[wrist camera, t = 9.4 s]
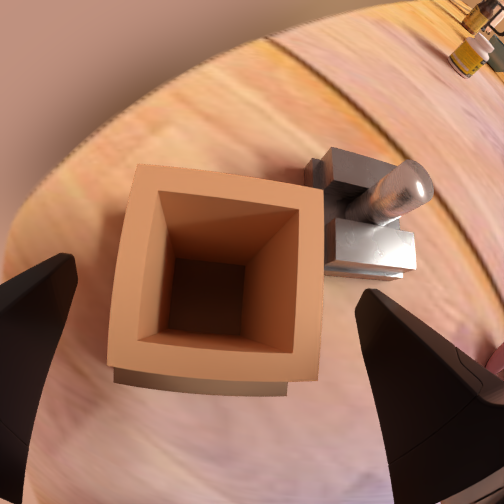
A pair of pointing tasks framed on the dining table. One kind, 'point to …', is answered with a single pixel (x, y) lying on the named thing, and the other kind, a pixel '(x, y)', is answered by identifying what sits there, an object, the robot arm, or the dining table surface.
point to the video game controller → (496, 361)
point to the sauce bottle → (479, 16)
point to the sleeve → (221, 251)
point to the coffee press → (495, 18)
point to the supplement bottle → (471, 55)
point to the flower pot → (496, 55)
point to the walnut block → (204, 327)
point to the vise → (367, 213)
